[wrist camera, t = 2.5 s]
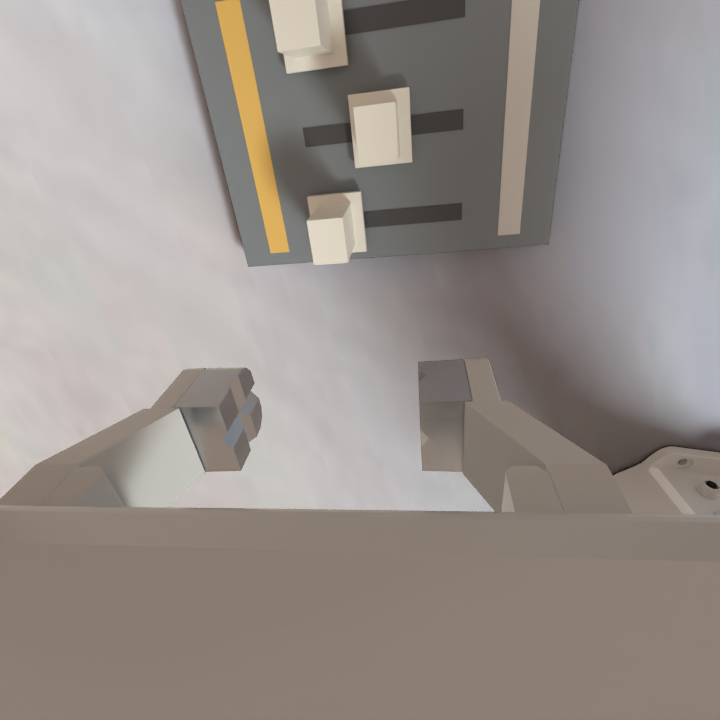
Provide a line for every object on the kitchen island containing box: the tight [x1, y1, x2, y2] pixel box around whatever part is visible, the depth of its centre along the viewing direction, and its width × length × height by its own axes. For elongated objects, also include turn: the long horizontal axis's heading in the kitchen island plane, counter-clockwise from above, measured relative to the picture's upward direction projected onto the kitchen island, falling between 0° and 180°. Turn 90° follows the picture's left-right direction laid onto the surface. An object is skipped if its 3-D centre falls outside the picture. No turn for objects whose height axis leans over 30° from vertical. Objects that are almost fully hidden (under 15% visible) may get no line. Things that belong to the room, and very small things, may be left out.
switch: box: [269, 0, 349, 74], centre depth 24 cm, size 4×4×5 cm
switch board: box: [181, 0, 579, 267], centre depth 30 cm, size 24×18×2 cm
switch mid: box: [348, 87, 412, 168], centre depth 27 cm, size 4×4×5 cm
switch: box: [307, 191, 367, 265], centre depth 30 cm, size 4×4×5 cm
